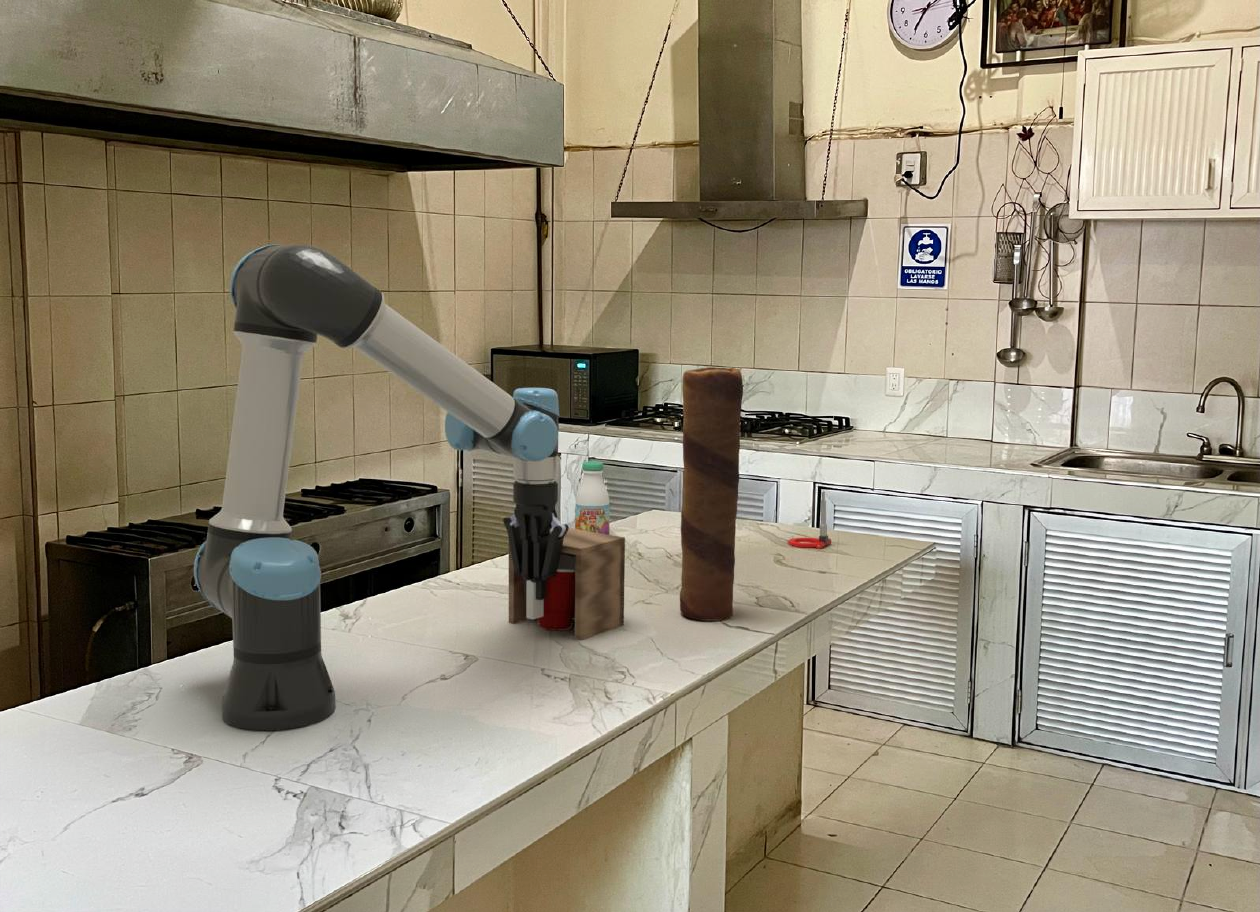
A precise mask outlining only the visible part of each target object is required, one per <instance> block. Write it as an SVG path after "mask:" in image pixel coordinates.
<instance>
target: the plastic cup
mask: <svg viewBox="0 0 1260 912" xmlns="http://www.w3.org/2000/svg"><path fill="white" fill-rule="evenodd" d="M574 613H575V557H574V556H570V555H563V554H561V555H560V560H559V564H558V569H557V574H556V577H553V578H550V579H548V580H547V582H546V598H545V599H544V614H543V617H540V618H537V623H538V627H540V628H541V629H544V630H550V631H565V630H570V629H571V628H572V625H573V623H574V619H573V618H574Z"/></svg>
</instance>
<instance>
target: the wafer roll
mask: <svg viewBox="0 0 1260 912" xmlns="http://www.w3.org/2000/svg"><path fill="white" fill-rule="evenodd" d="M682 375H683V376H682V380H681V381H682V383H681V385H682V386H681V391H682V413H683V422H682V460H683V474H682V493H681V494H682V497H681V499H682V502H681V512H680V518H681V519H680V537H681V538H680V542H681V544H680V545H681V552H682V553H681V555H682V557H681V576H680V577H681V578H680V579H681V587H680V592H679V611H680V613H681V614H682V616H684V617H687V618H688V619H689V618H690V619H694V620H699V621H722V620H728V619H730V618H732V616H733V615H734V613H733V612H734V611H733V610H734V609H733V608H734V607H733V601H734V582H735V564H736V556H735V550H736V549H735V546H736V533H737V532H736V531H737V529H736V520H737V514H738V501H739V484H740V450H741V440H740V431H741V415H742V401H743V396H744V385H743V383H744V382H743V376H742V372H741V370H740V369H739V368H736V367H729V368H726V367H710V366H708V367H702V368H695V369H688V370H685V371H684V372H683V374H682Z"/></svg>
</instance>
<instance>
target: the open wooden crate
mask: <svg viewBox="0 0 1260 912" xmlns="http://www.w3.org/2000/svg"><path fill="white" fill-rule="evenodd" d="M550 534H551V533H550ZM561 554H563V555H570V556H574V557H575V613H574V618H573V620H574V639H575V640H578V641H581V640H582V641H583V640H585V639H588V638H591V637H593V636H596V635H599V634H602V633H605V632H608V631H611V630H612V629H616V628H618V627H619V628H620V627H622V626H624V624H625V572H626V571H625V570H626V569H625V566H626V565H625V564H626V563H625V562H626V561H625V560H626V559H625V558H626V557H625V554H626V537H624V536H618V535H613V534H609V535H607V534H602V533H596V532H590V531H584V530H579V529H575V528H572V527H569V529H568V531H567V533H566V535H565V537H564V540H563V545H562V550H561ZM520 566H521V565H520ZM526 600H527V597H525V596H524V579H523V577H522V576H521V575H520V574H516V573H515V571H514V566H513V560H512V555H511V549H510V543H509V542H508V623H509V624H513V625H514V624H517V623H520V622H524V621H527V620H528V621H529V620H530V619H529V618H526Z"/></svg>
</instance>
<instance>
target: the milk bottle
mask: <svg viewBox="0 0 1260 912" xmlns="http://www.w3.org/2000/svg"><path fill="white" fill-rule="evenodd" d="M582 473H583V475H582V481H581V483H580V486H579V488H578V490H577V493H576V497H575V509H574V511H575V513H574V514H575V515H574V517H575V518H574V529H579V530H584V531H590V532H596V533H602V534H607V535H610V521H611V520H610V514H611V513H610V512H611V511H610V496H609V491H608V490H607V487H606V484H605V482H604V478H603V473H604V463H603V462H601V461H584V462H582Z"/></svg>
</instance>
